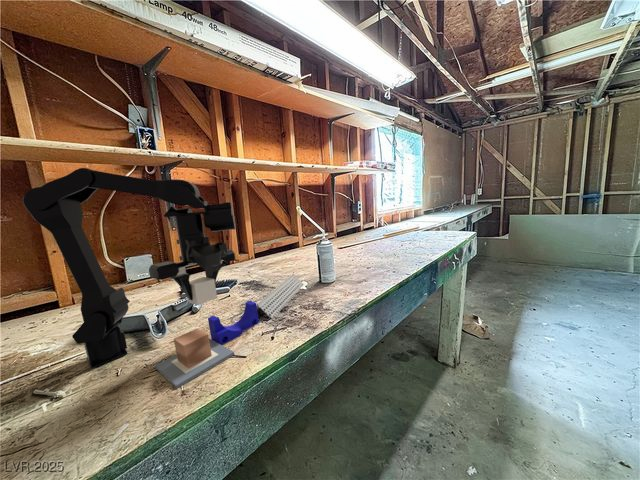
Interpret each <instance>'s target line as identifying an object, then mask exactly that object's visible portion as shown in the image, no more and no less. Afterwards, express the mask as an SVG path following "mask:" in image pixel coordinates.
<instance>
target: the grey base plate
mask: <svg viewBox="0 0 640 480" xmlns="http://www.w3.org/2000/svg"><path fill="white" fill-rule="evenodd" d="M209 342H210V348H211V354H212V356H210V357H208V358H206V359H205V360H203V361H201V362H199V363H197V364H196V365H194V366H192V367H190V368H187V367H185V366H184V365H183V364H182V363H180V362H179V361H178V359H177V354H175V355H173V356H171V357H168V358H167V359H164V360H162V361H160V362H159V363H156V364H155V365H154V368H155V370H157V371H158V372H159V373H160V374H161V375H162V376H163V377H164V378H165V379H166V380H168V382H169V383H170V384H171V385H173V386H174V387H175V388H176V389H178V388H181V387H182V386H184V385H185V384H187V383H189V382H190V381H192V380H194V379H195V378H197V377H198V376H200V375H203V374H204V373H205V372H207V371H209V370H210V369H212V368H214V367H215V366H217V365H219V364H221V363H222V362H224V361H226V360H227V359H229V358H230V357H233V356H234V355H235V351H233V350H231V349H230V348H229V347H226V346H224V345H221V344H219V343H217V342H215V341H213V340H211V337H210V338H209Z"/></svg>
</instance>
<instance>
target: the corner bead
mask: <svg viewBox="0 0 640 480" xmlns="http://www.w3.org/2000/svg"><path fill="white" fill-rule="evenodd" d="M304 285H305V284H304V283H303V282H302V281H301V280H300V279H299V278H298V277H296V275H295V274H294V273H292V274H291V275H290V276H288V278H286V279H285V280H284V281H283V282H281V283H280V284H279V285H278V286H277V287H276V288H275V289H273V290H272V291H271V292H269V294H267V295H266V296H265V297H264V298H263V299H261V300H260V301H259V302H258V303H256V306H257V311H258V310H259V309H261V311H263V312H264V313H265V314H266V315H267V316H268V317H269V318H271V319H274V318H275V317H276V315H277V314H279V313H280V311H281V310H283V308H284V307H285V306H286V305H287V304H288V303H289V301H290V300H291V299H293V297H294V296H295V295H296V294H297V293H298V292H299V290H301V289H302V287H303V286H304Z"/></svg>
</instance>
